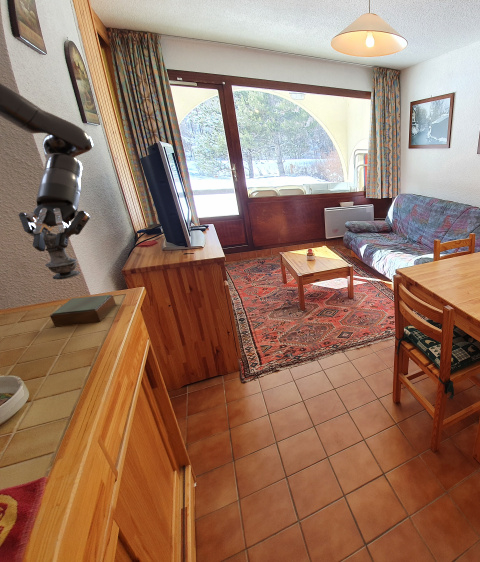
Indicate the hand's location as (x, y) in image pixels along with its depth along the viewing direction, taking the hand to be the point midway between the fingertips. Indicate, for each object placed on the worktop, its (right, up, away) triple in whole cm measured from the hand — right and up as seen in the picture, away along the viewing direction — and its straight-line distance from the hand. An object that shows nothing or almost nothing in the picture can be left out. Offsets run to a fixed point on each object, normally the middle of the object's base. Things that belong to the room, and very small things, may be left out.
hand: (49, 248), depth 75 cm
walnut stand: (-2, -17, +12) cm, 21 cm away
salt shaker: (-1, -7, +5) cm, 8 cm away
